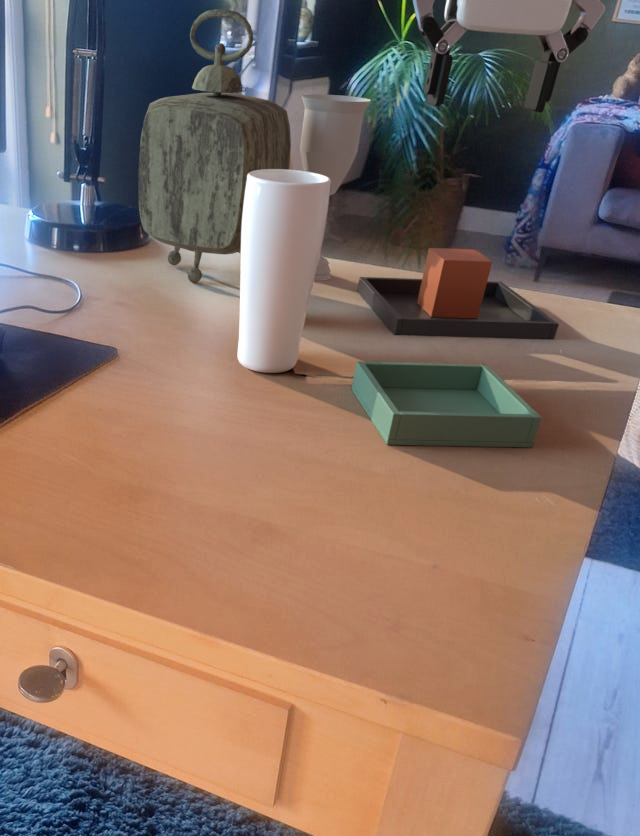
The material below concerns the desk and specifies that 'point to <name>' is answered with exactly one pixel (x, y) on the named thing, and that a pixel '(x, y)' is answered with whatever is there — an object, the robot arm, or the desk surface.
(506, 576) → the desk surface
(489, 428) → the tray
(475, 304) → the block
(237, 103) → the tabletop clock
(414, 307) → the pan
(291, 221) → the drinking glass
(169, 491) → the desk surface
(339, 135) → the chalice
